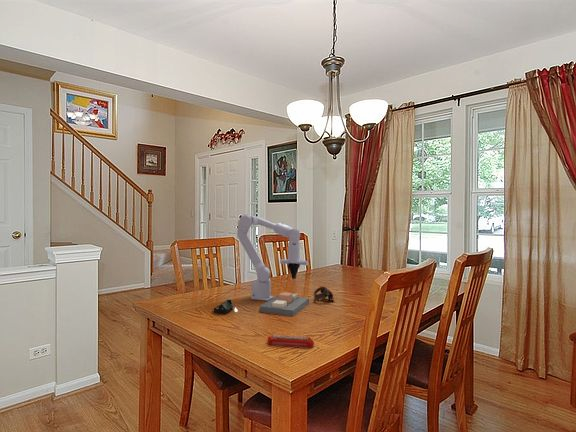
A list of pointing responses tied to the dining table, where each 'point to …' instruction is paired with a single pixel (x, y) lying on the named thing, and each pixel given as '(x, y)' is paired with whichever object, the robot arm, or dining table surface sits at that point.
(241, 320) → the dining table surface
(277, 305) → the cream key
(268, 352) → the dining table surface
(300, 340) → the candy bar
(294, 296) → the sage key
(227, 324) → the dining table surface
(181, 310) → the dining table surface
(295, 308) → the grey rectangular frame
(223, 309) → the black lumpy piece
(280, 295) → the terracotta key
